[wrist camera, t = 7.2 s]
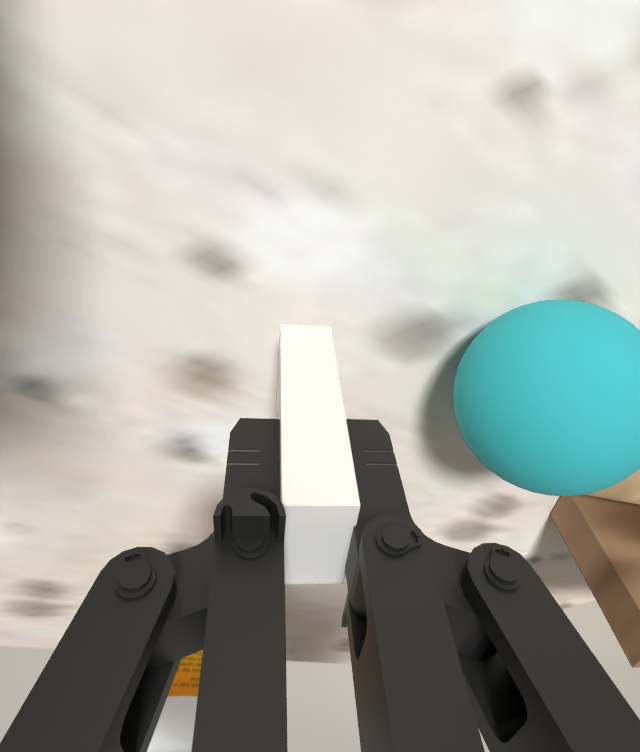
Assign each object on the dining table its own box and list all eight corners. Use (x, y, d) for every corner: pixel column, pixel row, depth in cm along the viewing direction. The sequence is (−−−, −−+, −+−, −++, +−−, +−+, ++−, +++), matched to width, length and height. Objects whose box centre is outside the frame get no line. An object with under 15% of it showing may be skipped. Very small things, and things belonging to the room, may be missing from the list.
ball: (648, 515, 16) (534, 394, 20) (777, 371, 12) (603, 261, 16) (493, 556, 14) (404, 413, 18) (589, 401, 10) (448, 268, 15)
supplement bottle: (143, 545, 23) (76, 812, 16) (255, 549, 24) (245, 805, 16) (147, 603, 26) (93, 849, 19) (246, 605, 27) (234, 841, 20)
